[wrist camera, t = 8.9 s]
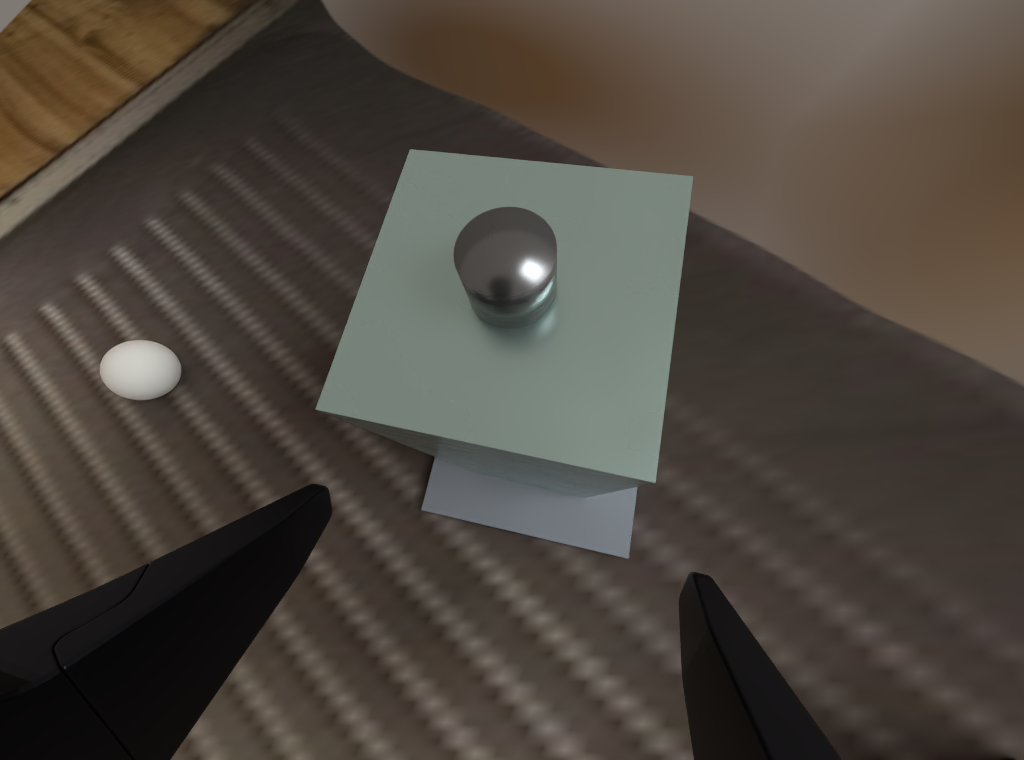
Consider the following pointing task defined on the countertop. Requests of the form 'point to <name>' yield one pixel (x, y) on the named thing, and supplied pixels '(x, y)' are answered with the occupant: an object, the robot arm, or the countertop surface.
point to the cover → (519, 320)
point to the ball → (140, 370)
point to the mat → (533, 509)
